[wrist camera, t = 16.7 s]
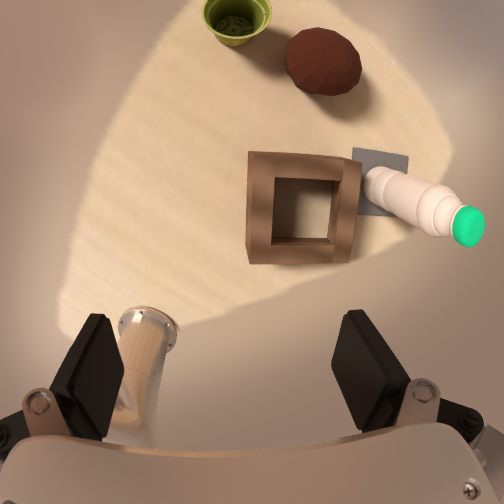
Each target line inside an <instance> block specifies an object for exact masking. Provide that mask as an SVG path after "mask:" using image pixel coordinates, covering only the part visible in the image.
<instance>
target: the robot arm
mask: <svg viewBox="0 0 504 504" xmlns="http://www.w3.org/2000/svg"><path fill="white" fill-rule="evenodd" d="M118 332H119V335H120V340H119V342H118V345H117V343H116V339H115V336H114V332H113V329H112V325H111V322H110V319H109V318H106V316H105V315H104V314H94V313H92V314H90V315H89V317H88V319H87V320H86V322H85V324H84V325H83V327H82V329H81V331H80V332H79V334H78V336H77V338H76V340H75V341H74V343H73V345H72V346H71V347H70V349H69V351H68V353H67V355H66V357H65V359H64V361H63V362H62V364H61V366H60V368H59V370H58V372H57V374H56V376H55V378H54V380H53V382H52V384H51V386H50V388H49V390H48V389H45V388H37V389H33V390H32V391H30V392H29V393H28V394H26V396H25V397H24V399H23V402H22V408H23V410H21V411H19V412H17V413H14V414H12V415H10V416H8V417H5V418H3V419H1V420H0V504H499V502H500V500H501V498H502V496H503V494H504V434H502V433H501V432H499V431H498V430H496V429H495V428H493V427H492V426H490V425H488V424H487V426H484V422H483V418H482V416H481V415H480V414H479V413H478V412H477V411H476V410H474V409H472V408H468V407H466V406H463V405H459V404H457V403H453V402H451V401H448V400H445V399H442V398H440V390H439V388H438V387H437V385H436V384H435V383H433V382H432V381H430V380H428V379H423V378H418V379H414V380H412V381H411V379H410V378H409V376H408V374H407V373H406V371H405V370H404V368H403V367H402V365H401V364H400V362H399V361H398V359H397V358H396V356H395V355H394V353H393V352H392V350H391V349H390V347H389V346H388V345H387V343H386V342H385V340H384V339H383V337H382V336H381V334H380V333H379V332H378V330H377V329H376V327H375V326H374V324H373V323H372V322H371V320H370V319H369V317H368V316H367V315H366V313H365V312H364V311H363V310H362V309H360V310H350V311H348V312H347V314H345V315H344V316H343V320H342V324H341V328H340V332H339V336H338V340H337V344H336V347H335V351H334V354H333V358H332V362H331V367H332V370H333V373H334V375H335V377H336V380H337V382H338V384H339V387H340V389H341V391H342V394H343V396H344V398H345V401H346V403H347V406H348V408H349V410H350V412H351V415H352V418H353V420H354V422H355V425H356V427H357V428H358V430H361V431H362V433H361V434H358V435H353V436H348V437H343V438H338V439H333V440H328V441H323V442H316V443H310V444H303V445H296V446H288V447H279V448H270V449H257V450H240V451H183V450H166V449H157V438H156V408H157V400H158V394H159V388H160V382H161V376H162V371H163V366H164V360H165V355H166V353H167V352H169V351H170V350H171V349H172V348H173V347H174V345H175V342H176V336H177V333H176V329H175V326H174V324H173V323H172V321H171V320H170V319H169V318H168V317H167V316H166V315H164V314H163V313H161V312H160V311H158V310H155V309H153V308H149V307H134V308H131V309H129V310H127V311H126V312H125V313H123V315H122V316H121V318H120V320H119V323H118Z"/></svg>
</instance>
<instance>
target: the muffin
mask: <svg viewBox="0 0 504 504" xmlns="http://www.w3.org/2000/svg"><path fill="white" fill-rule="evenodd" d="M285 55H286V60H287V64H288V70H287V73H288V74H289V76H290V77H291V78H292V80H293V81H294V83H295V85H296V87H299V88H302V89H305V90H306V91H308V92H310V93H313V94H323V95H328V96H335V95H339V94H343V93H347V92H349V91H350V90H351V89H352V88H353V87H354V86H355V85H356V84H357V83H358V81H359V78H360V75H361V71H362V66H361V61H360V56H359V53H358V52H357V50H356V49H355V48H354V46H353V45H352V44H351V42H350V41H349V40H348V39H346V38H345V37H343V36H342V35H340V34H339V33H337V32H335V31H332V30H328V29H324V28H319V27H317V28H311V29H306V30H302V31H300V32H299V33H298V34H297V35H295V36H294V37H293V38H292V39H290V42H289V44H288V47H287V50H286V53H285Z"/></svg>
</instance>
